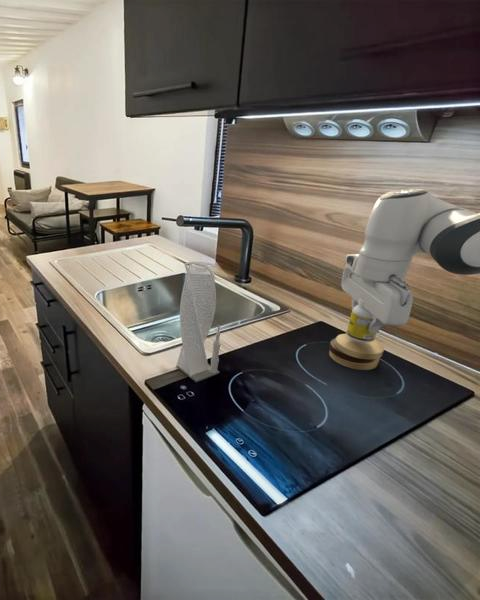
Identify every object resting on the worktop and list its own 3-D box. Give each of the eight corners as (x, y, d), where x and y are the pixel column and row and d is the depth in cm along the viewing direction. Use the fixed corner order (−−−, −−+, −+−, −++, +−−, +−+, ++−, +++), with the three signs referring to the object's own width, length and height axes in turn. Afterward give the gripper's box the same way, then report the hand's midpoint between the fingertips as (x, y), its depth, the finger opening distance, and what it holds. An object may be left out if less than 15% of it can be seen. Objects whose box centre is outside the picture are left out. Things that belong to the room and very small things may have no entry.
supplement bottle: (348, 329, 89) (359, 292, 85) (376, 336, 85) (388, 299, 81) (342, 338, 86) (353, 300, 81) (371, 346, 82) (383, 307, 78)
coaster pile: (364, 348, 91) (369, 332, 90) (387, 371, 83) (393, 354, 81) (321, 346, 93) (325, 331, 91) (339, 369, 84) (343, 352, 83)
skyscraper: (191, 384, 83) (201, 268, 71) (168, 366, 89) (174, 257, 78) (219, 373, 86) (233, 260, 74) (195, 356, 92) (205, 250, 81)
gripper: (431, 286, 68) (407, 349, 74) (371, 253, 86) (356, 305, 92) (393, 286, 69) (373, 347, 75) (342, 253, 88) (329, 304, 93)
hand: (363, 323), depth 84 cm, fingers closed on supplement bottle, 5 cm apart
